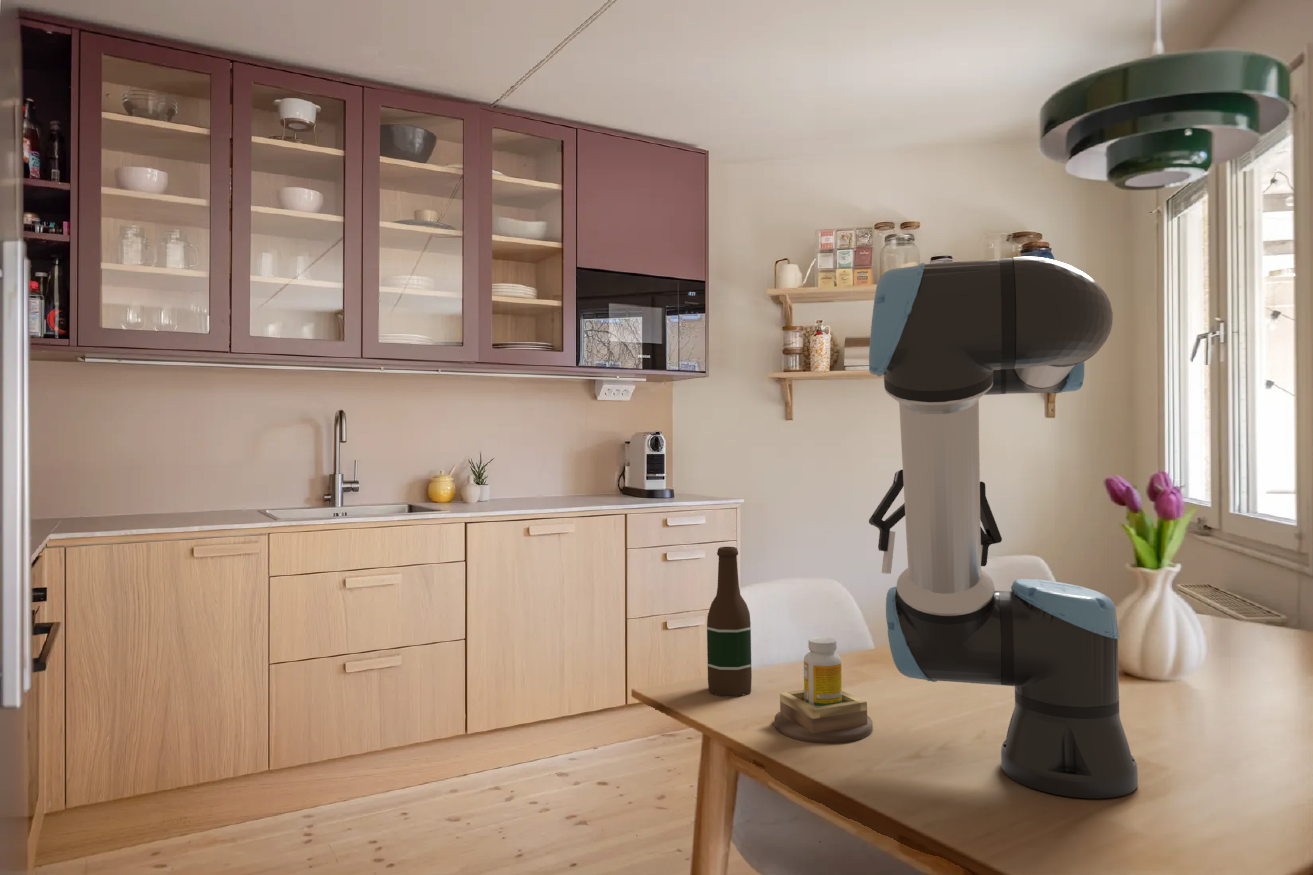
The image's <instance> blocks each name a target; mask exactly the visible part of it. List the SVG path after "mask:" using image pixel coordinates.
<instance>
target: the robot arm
mask: <svg viewBox="0 0 1313 875" xmlns="http://www.w3.org/2000/svg"><path fill="white" fill-rule="evenodd" d="M1113 316H1114V314H1113V308H1112V304H1111V301H1110V299H1109V296H1108V295H1107V293H1106V291H1105V290H1104V289H1103V287H1102V286H1101V285H1100V284H1098V282H1096V281H1095V280H1094V279H1093V278H1092V276H1089V275H1088V274H1087V273H1085V272H1084V271H1082V270H1080V269H1078V268H1076V267H1074V266H1073V265H1070V264H1067V263H1065V262H1061V261H1058V260H1054V259H1051V258H1045V257H1040V256H1039V257H1038V256H1026V255H1025V256H1013V257H1008V258H1007V257H1006V258H994V259H985V260H984V259H983V260H970V261H955V262H954V261H953V262H940V263H938V262H937V263H923V262H922V263H919V264H918V265H911V266H905V267H898V268H897V267H896V268H892V269H888V270H886V271H884V273H882V275H880V277H879V278H878V280H877V284H876V287H875V292H874V300H873V309H872V317H871V326H870V338H869V348H868V349H869V351H868V352H869V354H868V370H869V373H870V374H871V375H874V376H876V377H882V376H883V383H884V384H883V385H884V386H883V388H884V390H885V393H886V394H887V395H888V396H890V397H891V398H892V399H894V400H895V401H897V402H898V404H899V406H898V407H899V425H900V442H901V444H900V445H901V461H902V469H900V470H897V471H896V472H895V473H894V476H893V481H892V483H891V486H890V487H889V489H888V491H887V492H886V493H885V495H884V496H883V498H882V499H881V501H880V502H879V504H878V506H877V507H876V508H875V510H874V512H872V515H871V516H870V518H868V519H869V520H868V524H870V525H871V526H874V527H876V528H877V529H878V530H879V535H878V543H877V544H878V545H877V548H878V551H879V552H883V557H882V564H881V565H882V566H881V574H884V575H885V574H886V575H887V574H888V575H890V574H892V566H893V560H894V559H893V558H894V550H895V549H894V548H895V538H896V531H894V530H891V529H892V528H893V527H895V525H896V524H897V523H898V522H899V521H901V520H902V519H903V518H904V519H905V520H904V521H905V536H906V537H905V538H906V556H907V568H906V569H905V570H904V571H902V572H901V573H900V575H899V576H898V578H897V580H896V586H893V587H890V588H889V589H888V591H887V592H886V598H885V618H886V626H887V638H888V644H889V649H890V653H891V656H892V661H893V662H894V665H895V668H896V669H897V670H898V672H899V673H900V674H902V675H903V676H905V677H907V678H908V679H909V678H910V679H916V680H923V681H924V680H925V681H927V682H932V683H936V682H954V683H967V684H978V685H994V686H1006V687H1007V686H1008V687H1014V709H1013V712H1012V715H1011V718H1010V721H1009V724H1008V727H1007V732H1006V737H1005V740H1004V741H1003V742H1002V745H1001V749H1000V761H1001V762H1000V767H1001V770H1002V771H1003V773H1004V774H1005V775H1006V776H1007V777H1009V778H1010V779H1012V780H1013V781H1015V782H1017V783H1019V784H1021V785H1023V786H1025V787H1028V788H1030V789H1031V788H1032V789H1034V790H1037V791H1041V792H1044V793H1048V794H1052V795H1057V796H1064V797H1070V798H1080V799H1081V798H1082V799H1110V798H1111V799H1112V798H1118V797H1124V796H1126V795H1130V794H1131V793H1132V792H1135V790H1136V789H1137V788H1138V786H1139V783H1138V781H1139V780H1138V779H1139V778H1138V763H1137V762H1136V759H1135V757H1134V756H1133V755H1132V753H1131V749H1130V746H1129V742H1128V739H1127V736H1126V733H1125V730H1124V726H1123V723H1122V721H1121V715H1120V686H1119V681H1120V680H1119V678H1120V677H1119V641H1118V640H1119V639H1120V638H1121V637H1120V632H1119V627H1118V618H1117V617H1118V615H1117V610H1116V609H1117V608H1116V606H1115V603H1114V602H1113V600H1112V599H1111V598H1110V597H1109V596H1107V595H1106V594H1104V593H1102V592H1100V591H1097V590H1095V589H1091V588H1087V587H1085V586H1081V585H1076V584H1070V583H1065V582H1060V581H1054V580H1046V579H1036V578H1031V579H1030V578H1018V579H1014V581H1013V582H1012V583H1011V586H1010V589H1011V590H996V589H995V583H994V581H993V579H992V577H991V576H990V575H989V574H988V573H987V572H986V571H985V570H984V569H982V567H986V566H987V564H988V555H989V547H990V546H992V545H994V544H999V543H1002V541H1003V537H1002V535H1001V533H1000V530H999V528H998V525H997V522H996V520H995V517H994V514H993V512H992V509H991V506H990V504H989V501H988V499H987V496H986V495H987V494H986V491H987V490H986V484H985V482H984V481H981V480H980V476H981V475H980V474H981V470H980V468H981V467H980V465H981V464H980V408H979V407H980V405H979V404H980V402H979V401H980V399H981V398H982V397H983V396H993V395H1008V394H1014V395H1015V394H1044V393H1045V394H1050V393H1051V394H1062V393H1068V392H1070V393H1071V392H1076V391H1079V390H1080V389H1081V388H1083V384H1084V379H1085V362H1086V361H1088V360H1089V359H1091V358H1092V357H1094V355H1096V354H1097V352H1099V351H1100V349H1101V348H1103V347H1104V344H1105V343H1106V341H1107V340H1108V338H1109V335H1110V334H1111V332H1112V327H1113V318H1114V317H1113ZM902 489H903V496H904V497H903V499H904V502H903V504H902V505H900V506H899V507H898V508H897V509H896V510H895V511H894V512H892V513H891V514H890V515H889V516H888V517H886V519H885V520H884V519H883V518H884V516H885V515H886V513H887V512H888V511H889V509H890V508H891V506H892V505H893V503H895V502H894V501H895V500H896V498H897V497H898V495H899V494H900V493H901V491H902ZM981 524H982V526H981ZM982 527H983V528H982Z"/></svg>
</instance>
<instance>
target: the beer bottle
mask: <svg viewBox="0 0 1313 875" xmlns="http://www.w3.org/2000/svg"><path fill="white" fill-rule="evenodd" d="M738 555H739V551H738V548H737V547H735V546H720V547H718V548H717V552H716V556H718V566H717V567H718V568H717V569H718V570H717V588H716V595H715V596H714V598H713V600H712V602H711V604H710V607H709V609H708V610H709V611H708V613H707V621H706V642H707V644H706V646H707V649H706V650H707V651H706V652H707V654H706V655H707V684H708V685H707V687H708V692H709V694H712V695H715V694H717V695H716V696H718V695H719V697H721V696H739V697H741V696H740V695H743V694H747V695H749V694H748V693H750V694H751V692H752V675H753V674H752V673H753V672H752V634H751V632H752V628H751V626H752V625H751V613H750V610H749V608H748V605H747V602H746V601H745V600H744V598H743V597H742V595H741V589H740V584H739V582H740V581H739V570H738V559H737V558H738ZM743 696H744V695H743Z"/></svg>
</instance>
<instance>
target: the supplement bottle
mask: <svg viewBox="0 0 1313 875" xmlns="http://www.w3.org/2000/svg"><path fill="white" fill-rule="evenodd" d="M837 649H838V646H837V640H836V639H835V638H832V637H826V636H825V637H824V636H816V637H811V638H809V639H808V650H809V651H810V652H807V653H806V654H805V656H804V658H803V685H804V686H803V690H804V702H806V703H808V704H810V705H812V706H814V707H818V706H825V705H832V704H838V703H842V691H843V690H842V689H843V688H842V687H843V686H842V683H843V681H842V679H843V678H842V677H843V676H842V674H843V673H842V658H841V656H840V655H839V654H838V653H836V651H837Z"/></svg>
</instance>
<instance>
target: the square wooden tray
mask: <svg viewBox="0 0 1313 875" xmlns="http://www.w3.org/2000/svg"><path fill="white" fill-rule="evenodd" d="M779 706H780V707H779V712H777V713H775V715H774V728H775V729H776V731H777V732H779V733H780V734H782V735H783V736H786V737H788V738H792V739H795V740H799V741H804V742H809V743H817V744H819V743H820V744H840V743H841V744H843V743H849V742H857V741H858V740H861V739H864V738H865V739H866V738H867V737H869V736H870V735H871V734H872V733H873V728H874V726H873V719H872V718H871V717H870V716H869V715H868V701H866V700H864V699H861V698H859V697H858V696H857V697H856V695H853V694H850V693H848V692H846V691H843V690H842V703H838V704H832V705H825V706H818V707H814V706H812V705H810V704H808V703H806V702H804V689H802V690H794V691H793V690H792V691H787V692H780V693H779Z"/></svg>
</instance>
